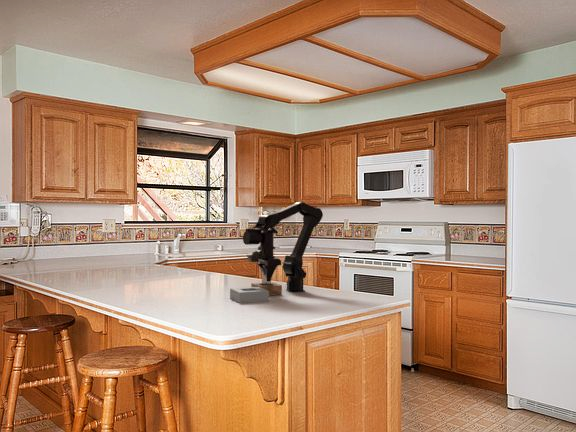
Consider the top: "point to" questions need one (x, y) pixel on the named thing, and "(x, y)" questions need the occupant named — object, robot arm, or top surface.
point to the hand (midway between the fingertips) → (266, 280)
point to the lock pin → (264, 279)
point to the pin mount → (270, 288)
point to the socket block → (249, 294)
